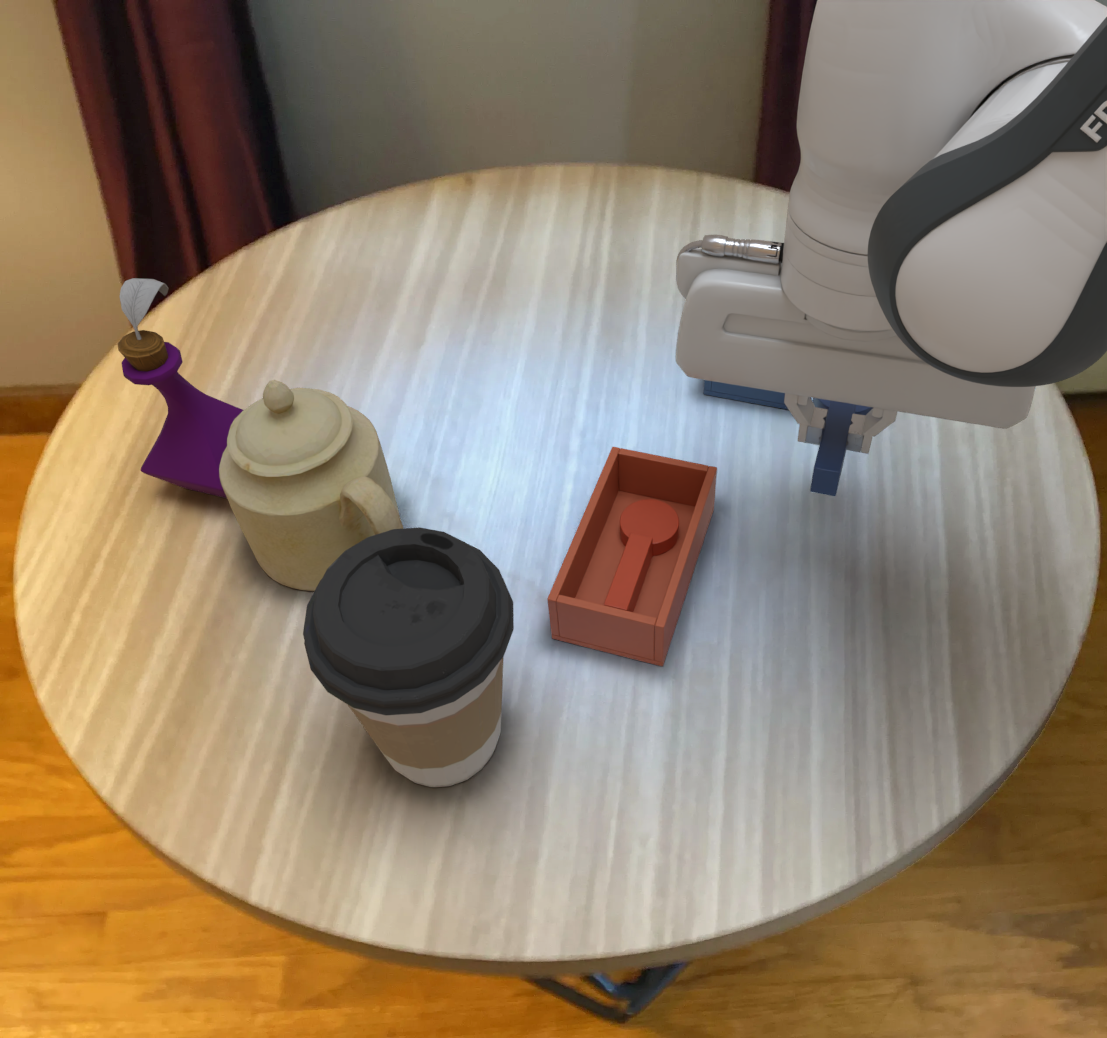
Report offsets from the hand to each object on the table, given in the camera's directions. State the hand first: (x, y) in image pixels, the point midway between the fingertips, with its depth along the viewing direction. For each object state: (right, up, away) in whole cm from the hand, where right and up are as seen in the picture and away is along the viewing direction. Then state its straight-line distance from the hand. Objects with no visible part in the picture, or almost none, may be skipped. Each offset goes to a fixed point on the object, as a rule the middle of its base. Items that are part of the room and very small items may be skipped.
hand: (834, 441), depth 65 cm
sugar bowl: (-33, -7, +11) cm, 35 cm away
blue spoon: (+1, 0, +2) cm, 3 cm away
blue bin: (0, +10, +22) cm, 24 cm away
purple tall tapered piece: (-44, -2, +16) cm, 47 cm away
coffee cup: (-25, -19, 0) cm, 31 cm away
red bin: (-12, -9, +7) cm, 16 cm away
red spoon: (-12, -8, +7) cm, 16 cm away
